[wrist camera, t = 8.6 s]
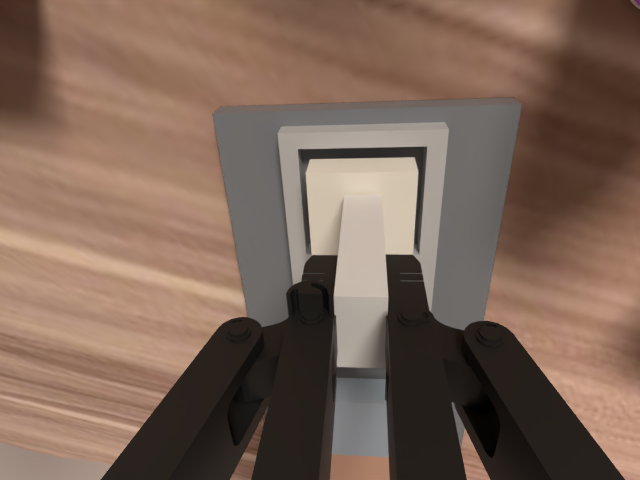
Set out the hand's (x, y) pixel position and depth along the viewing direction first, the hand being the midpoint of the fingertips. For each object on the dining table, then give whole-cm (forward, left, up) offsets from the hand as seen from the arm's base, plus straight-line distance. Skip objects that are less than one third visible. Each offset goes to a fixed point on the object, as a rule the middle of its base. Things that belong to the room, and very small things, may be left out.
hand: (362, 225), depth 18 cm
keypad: (0, -9, -4) cm, 10 cm away
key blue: (0, -12, -1) cm, 12 cm away
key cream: (0, 0, -2) cm, 2 cm away
